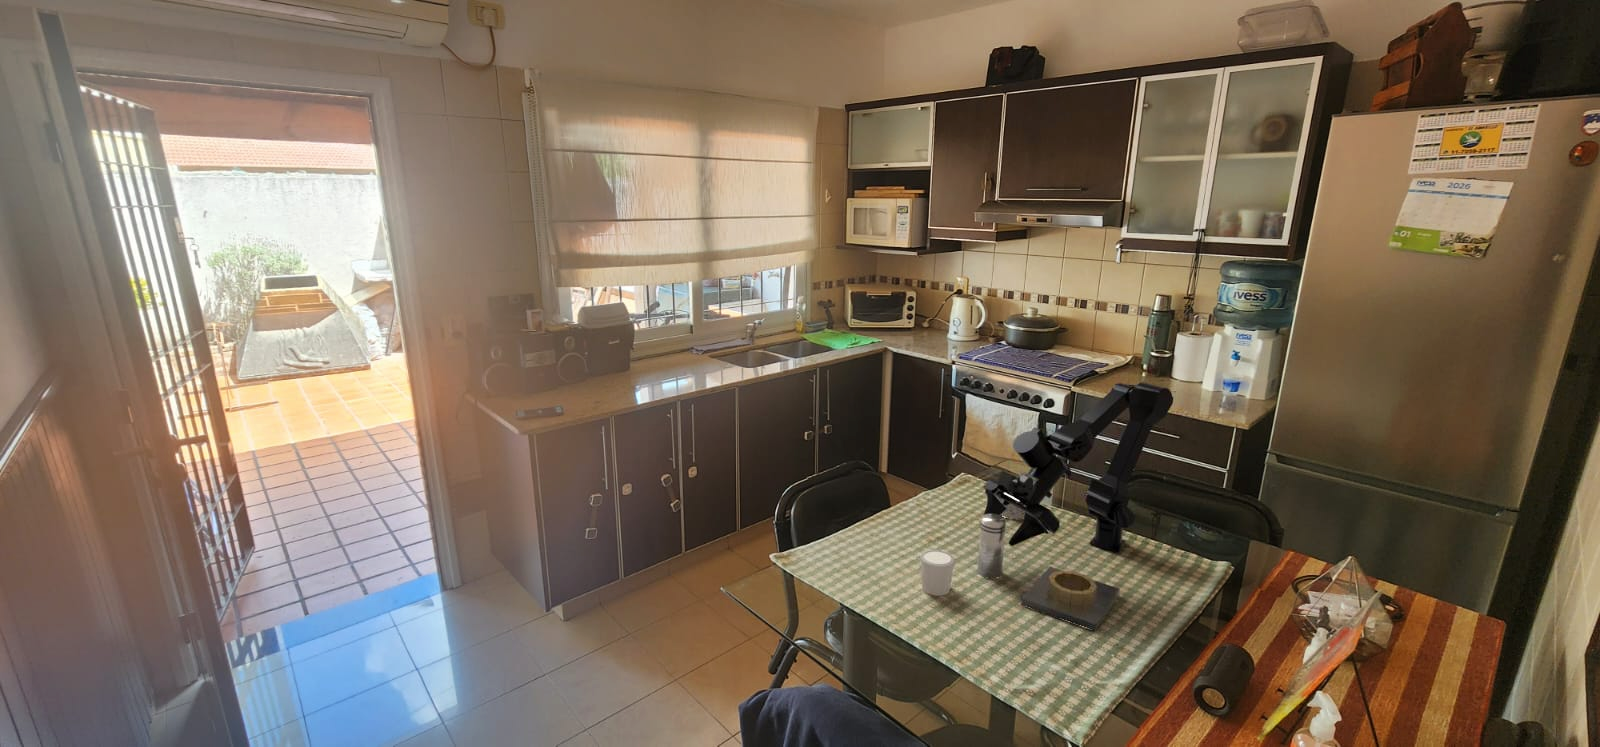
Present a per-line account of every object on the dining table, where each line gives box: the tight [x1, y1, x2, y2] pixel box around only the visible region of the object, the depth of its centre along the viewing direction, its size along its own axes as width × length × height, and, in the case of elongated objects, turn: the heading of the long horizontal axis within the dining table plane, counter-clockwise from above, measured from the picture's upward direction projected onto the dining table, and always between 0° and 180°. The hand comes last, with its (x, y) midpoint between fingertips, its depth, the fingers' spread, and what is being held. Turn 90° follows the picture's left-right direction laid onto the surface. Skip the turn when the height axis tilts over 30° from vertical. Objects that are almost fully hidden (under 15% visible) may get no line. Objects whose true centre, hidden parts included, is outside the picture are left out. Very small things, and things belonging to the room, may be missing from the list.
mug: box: [986, 489, 1026, 520], centre depth 173 cm, size 10×7×7 cm, turn 77°
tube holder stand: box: [1020, 566, 1121, 632], centre depth 133 cm, size 16×14×4 cm
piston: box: [977, 514, 1007, 579], centre depth 143 cm, size 5×5×12 cm
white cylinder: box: [919, 549, 956, 597], centre depth 137 cm, size 7×7×7 cm
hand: (995, 535), depth 143 cm, fingers open, 9 cm apart
